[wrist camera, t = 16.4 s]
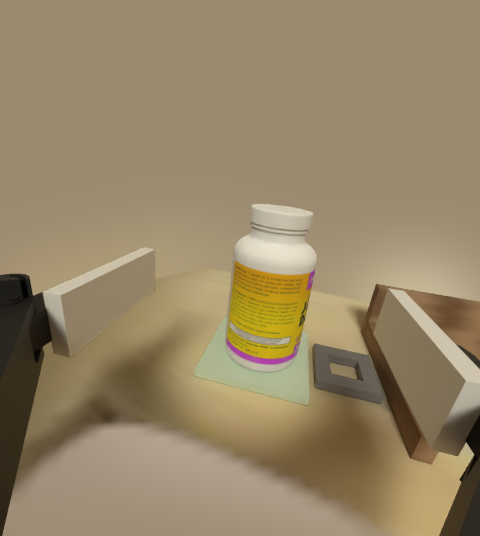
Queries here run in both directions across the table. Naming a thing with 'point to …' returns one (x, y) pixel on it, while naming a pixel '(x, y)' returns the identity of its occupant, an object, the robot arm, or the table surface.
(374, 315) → the cubby
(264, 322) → the supplement bottle
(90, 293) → the robot arm
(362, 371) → the hole frame
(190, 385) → the table surface
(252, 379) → the mat
